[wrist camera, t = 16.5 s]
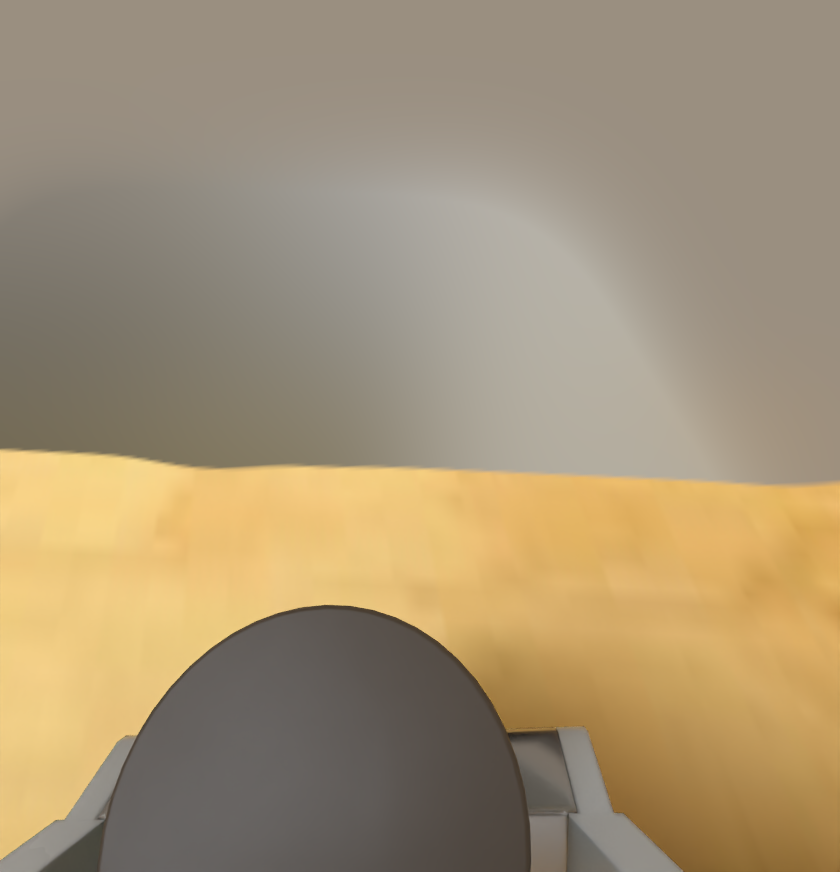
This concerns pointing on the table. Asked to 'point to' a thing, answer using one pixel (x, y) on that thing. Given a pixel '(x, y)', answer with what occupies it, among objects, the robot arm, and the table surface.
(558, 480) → the table surface
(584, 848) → the robot arm
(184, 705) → the canister
